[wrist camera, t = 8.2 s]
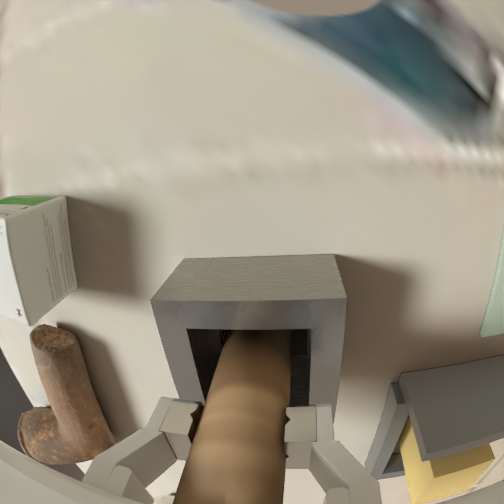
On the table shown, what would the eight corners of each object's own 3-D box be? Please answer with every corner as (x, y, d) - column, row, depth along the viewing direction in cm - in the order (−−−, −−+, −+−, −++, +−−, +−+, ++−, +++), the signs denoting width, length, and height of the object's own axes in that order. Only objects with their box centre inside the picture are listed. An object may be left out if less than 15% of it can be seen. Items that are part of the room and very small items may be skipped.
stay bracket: (183, 258, 15) (150, 300, 11) (333, 254, 14) (347, 297, 10) (205, 369, 17) (187, 420, 14) (328, 370, 16) (332, 425, 13)
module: (413, 406, 17) (434, 478, 11) (467, 395, 16) (495, 458, 11) (398, 442, 19) (411, 506, 13) (448, 432, 18) (467, 490, 12)
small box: (68, 192, 14) (4, 219, 10) (81, 288, 17) (31, 332, 12) (8, 193, 15) (-49, 215, 10) (21, 275, 17) (-26, 308, 13)
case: (393, 373, 16) (417, 455, 10) (507, 353, 15) (546, 412, 9) (364, 463, 20) (370, 524, 14) (459, 445, 19) (475, 497, 13)
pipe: (54, 370, 13) (-50, 338, 12) (122, 497, 19) (32, 469, 19) (94, 309, 19) (-5, 295, 18) (134, 445, 25) (51, 426, 24)
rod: (225, 307, 14) (149, 512, 5) (291, 306, 14) (277, 530, 5) (233, 357, 15) (181, 542, 6) (292, 357, 15) (279, 553, 6)
